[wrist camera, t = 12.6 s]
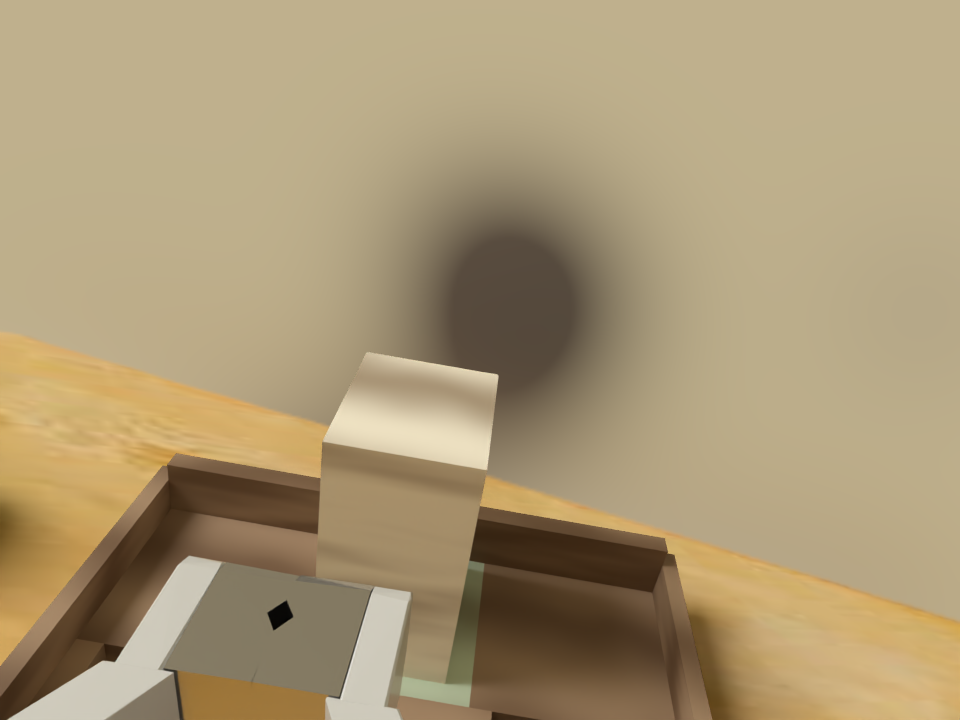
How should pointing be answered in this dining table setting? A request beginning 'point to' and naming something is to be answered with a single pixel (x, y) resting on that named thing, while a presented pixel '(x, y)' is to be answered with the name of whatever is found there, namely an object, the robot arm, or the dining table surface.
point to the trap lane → (481, 621)
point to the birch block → (407, 492)
